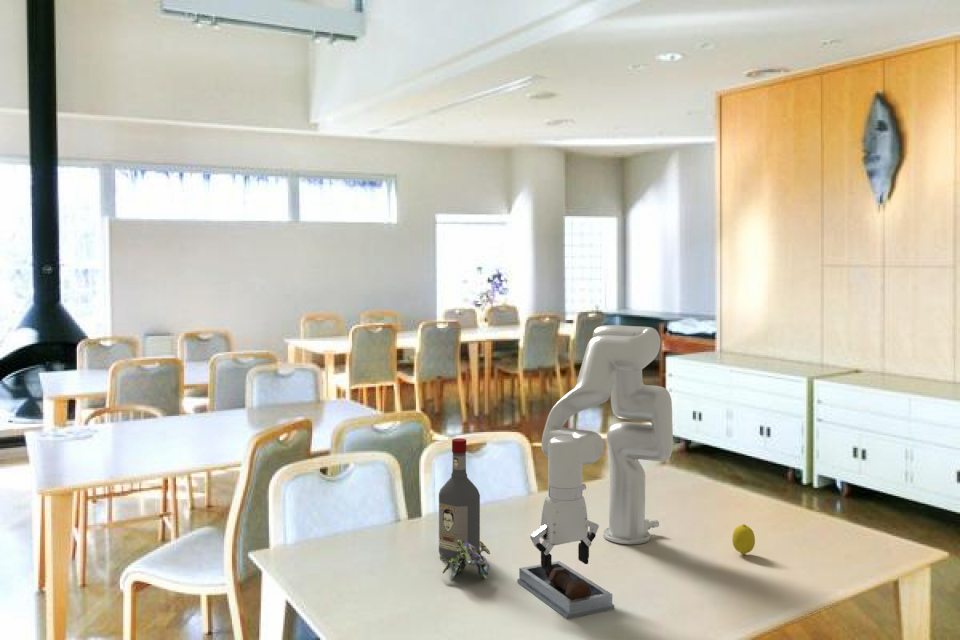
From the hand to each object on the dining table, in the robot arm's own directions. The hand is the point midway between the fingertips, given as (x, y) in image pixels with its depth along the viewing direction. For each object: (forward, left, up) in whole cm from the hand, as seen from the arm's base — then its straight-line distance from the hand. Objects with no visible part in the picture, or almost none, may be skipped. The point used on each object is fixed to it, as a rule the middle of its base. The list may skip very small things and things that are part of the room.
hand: (565, 565), depth 186 cm
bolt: (0, +1, -6) cm, 6 cm away
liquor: (+12, -33, -7) cm, 35 cm away
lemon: (-54, -2, -7) cm, 55 cm away
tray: (+1, 0, -7) cm, 7 cm away
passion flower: (+17, -18, -7) cm, 25 cm away
